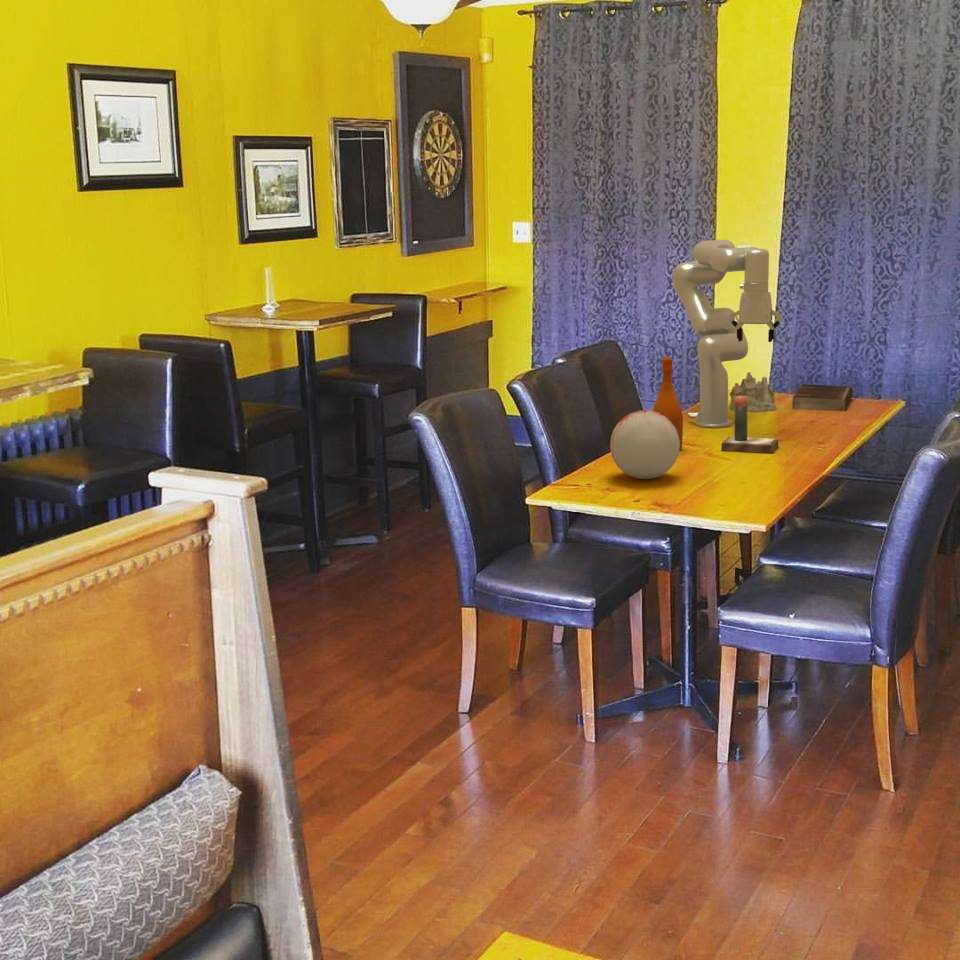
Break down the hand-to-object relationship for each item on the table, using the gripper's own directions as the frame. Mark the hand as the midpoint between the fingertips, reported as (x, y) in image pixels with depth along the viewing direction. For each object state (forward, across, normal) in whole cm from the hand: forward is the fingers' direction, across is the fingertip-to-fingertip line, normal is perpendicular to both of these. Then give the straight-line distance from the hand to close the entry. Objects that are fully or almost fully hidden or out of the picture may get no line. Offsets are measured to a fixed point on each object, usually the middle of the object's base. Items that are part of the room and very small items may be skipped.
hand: (755, 341), depth 397 cm
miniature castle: (+33, -11, +53) cm, 64 cm away
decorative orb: (+32, -19, -62) cm, 73 cm away
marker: (+30, -1, -16) cm, 33 cm away
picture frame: (+32, +2, -16) cm, 36 cm away
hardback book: (+33, +12, +70) cm, 78 cm away
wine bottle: (+32, -23, -23) cm, 46 cm away
